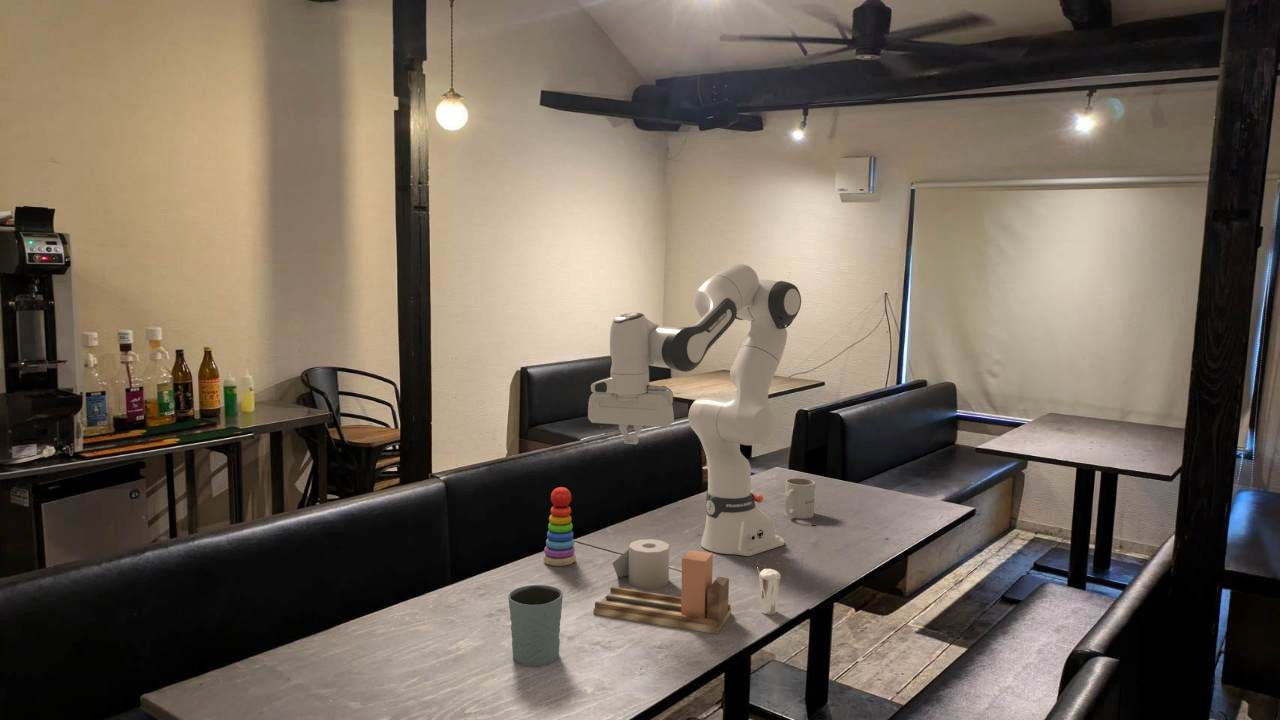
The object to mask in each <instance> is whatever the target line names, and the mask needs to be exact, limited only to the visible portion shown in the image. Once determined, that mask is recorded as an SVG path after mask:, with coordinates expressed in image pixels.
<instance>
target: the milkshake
mask: <svg viewBox="0 0 1280 720" xmlns="http://www.w3.org/2000/svg"><path fill="white" fill-rule="evenodd" d="M757 572H758V578H759V595H760V596H759V597H760V598H759V599H760V601H759V602H760V612H761V613H762V614H764V615H770V616H771V615H772V616H773V615H775V614H777V610H778V602H779V592H780V585H781V583H780V582H781V576H782V575H781V574H780V572H779V571H777V570H775V569H772V568H764V569H762V570H761V571H760V570H759V568H758V567H757Z"/></svg>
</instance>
